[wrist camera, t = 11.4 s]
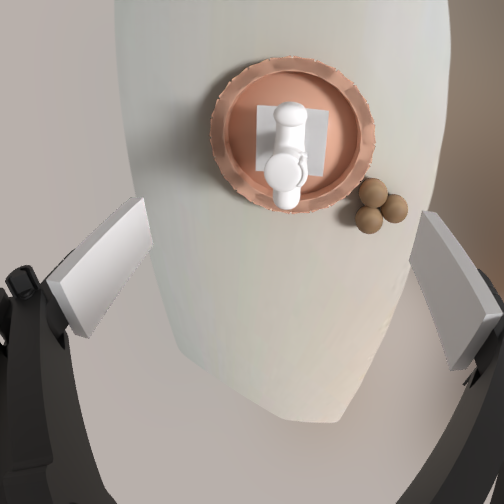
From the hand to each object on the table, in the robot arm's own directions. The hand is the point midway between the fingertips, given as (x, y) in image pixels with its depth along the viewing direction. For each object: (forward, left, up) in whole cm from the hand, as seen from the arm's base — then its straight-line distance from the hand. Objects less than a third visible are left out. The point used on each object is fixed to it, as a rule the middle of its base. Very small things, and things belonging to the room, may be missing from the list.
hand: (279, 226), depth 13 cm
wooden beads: (+8, +11, -23) cm, 27 cm away
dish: (0, 0, -23) cm, 23 cm away
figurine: (0, 0, -23) cm, 23 cm away
